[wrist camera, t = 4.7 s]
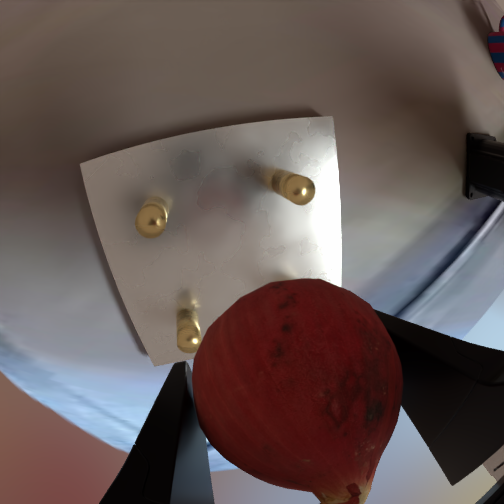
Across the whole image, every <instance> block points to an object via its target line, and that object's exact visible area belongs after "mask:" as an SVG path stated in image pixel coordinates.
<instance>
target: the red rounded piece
mask: <svg viewBox="0 0 504 504" xmlns="http://www.w3.org/2000/svg"><path fill="white" fill-rule="evenodd" d="M192 387H193V397H194V406H195V410H196V414H197V418H198V422H199V426H200V428H201V430H202V431H203V433H204V434H205V436H206V438H207V439H208V441H209V442H210V444H211V445H212V446H213V447H214V448H215V449H216V450H217V451H218V452H219V453H220V454H221V455H222V456H223V457H224V458H225V459H226V460H228V461H229V462H231V463H232V464H234V465H235V466H237V467H238V468H240V469H241V470H243V471H245V472H246V473H248V474H250V475H252V476H254V477H255V478H258V479H260V480H262V481H264V482H267V483H269V484H273V485H276V486H279V487H283V488H287V489H294V490H301V491H307V492H313V494H314V495H315V496H316V497H317V498H318V499H319V501H320V502H321V503H320V504H364V503H365V501H366V499H367V496H368V494H369V492H370V490H371V485H372V481H373V478H374V475H375V471H376V468H377V465H378V463H379V460H380V458H381V455H382V453H383V452H384V450H385V448H386V446H387V444H388V442H389V440H390V438H391V436H392V434H393V431H394V429H395V426H396V424H397V421H398V416H399V412H400V407H401V401H402V392H403V375H402V365H401V362H400V359H399V356H398V353H397V350H396V347H395V345H394V343H393V341H392V339H391V337H390V336H389V334H388V332H387V330H386V328H385V326H384V325H383V323H382V321H381V320H380V318H379V317H378V315H377V314H376V312H375V311H374V309H373V308H372V307H371V305H370V304H369V303H367V302H366V301H364V300H363V299H361V298H360V297H358V296H357V295H355V294H354V293H352V292H351V291H349V290H346V289H344V288H341V287H339V286H337V285H334V284H332V283H330V282H327V281H325V280H322V279H315V278H302V279H293V280H284V281H276V282H270V283H268V284H266V285H264V286H262V287H260V288H258V289H256V290H254V291H252V292H250V293H248V294H246V295H244V296H242V297H240V298H239V299H238V300H237V301H236V302H235V303H234V304H233V305H231V306H230V307H229V308H228V309H227V310H226V311H225V312H224V313H223V314H222V315H221V316H220V317H218V318H217V319H216V320H215V321H214V322H213V323H212V324H211V325H210V326H209V327H208V329H207V331H206V333H205V335H204V337H203V339H202V342H201V344H200V346H199V348H198V350H197V352H196V354H195V357H194V363H193V371H192Z"/></svg>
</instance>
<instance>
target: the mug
mask: <svg viewBox="0 0 504 504" xmlns="http://www.w3.org/2000/svg"><path fill="white" fill-rule="evenodd" d="M488 46H489V50H490V54H491V57H492V60H493V62H494V65H495V67H496V69H497V71H498V73H499V75H500V76H501V77H502V78H503V79H504V16H503V17H502V18H501V20H500V24H499V32H490V33H489V34H488Z"/></svg>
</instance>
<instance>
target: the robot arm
mask: <svg viewBox="0 0 504 504" xmlns="http://www.w3.org/2000/svg"><path fill="white" fill-rule="evenodd" d="M485 196H490V197H493V198H495V199H498V200H501V201H503V202H504V143H502V142H497V141H496V138H495V137H493V136H487V135H480V134H473V133H468V134H467V189H466V197H467V199H470V200H473V199H477V198H481V197H485ZM374 311H375V312H376V314H377V315H378V317H379V318H380V320H381V321H382V323H383V325H384V326H385V328H386V330H387V332H388V334H389V336H390V337H391V339H392V341H393V343H394V345H395V347H396V350H397V353H398V356H399V359H400V362H401V365H402V375H403V392H402V401H401V406H402V407H403V409H404V410H405V412H406V413H407V415H408V416H409V418H410V419H411V421H412V422H413V424H414V426H415V427H416V429H417V430H418V432H419V433H420V435H421V437H422V438H423V440H424V441H425V443H426V444H427V446H428V447H429V450H430V451H431V452H432V454H433V456H434V457H435V459H436V461H437V462H438V464H439V466H440V467H441V469H442V471H443V472H444V474H445V476H446V477H447V479H448V481H449V482H450V484H451V485H452V486H453V485H455V484H456V483H458V482H459V481H460V480H462V479H463V478H465V477H466V476H467V475H469V474H470V473H471V472H473V471H474V470H475V469H476V468H478V467H479V466H480V465H482V464H483V465H484V467H485V468H486V469H487V471H488V472H489V473H490V475H491V476H493V477H494V478H495V479H496V481H497V483H496V484H495V485H494V486H493V487H492V488H491V489H490V490H489V491H488V492H487V493H486V494H485V495H484V496H483V497H482V498H481V499H480V500H479V501H477V502H476V503H475V504H504V351H501V350H497V349H492V348H488V347H484V346H480V345H476V344H472V343H469V342H466V341H463V340H460V339H457V338H454V337H450V336H448V335H445V334H442V333H439V332H436V331H434V330H431V329H428V328H425V327H422V326H419V325H417V324H414V323H411V322H408V321H405V320H402V319H400V318H397V317H394V316H391V315H388V314H386V313H383V312H380V311H377V310H375V309H374ZM135 444H136V445H135ZM135 444H134V445H133V447H132V449H131V451H130V453H129V455H128V457H127V459H126V461H125V463H124V465H123V467H122V468H121V470H120V471H119V473H118V475H117V476H116V478H115V480H114V481H113V483H112V484H111V486H110V487H109V489H108V490H107V492H106V493H105V495H104V497H103V498H102V500H101V501H100V503H99V504H214V497H213V490H212V483H211V476H210V468H209V461H208V452H207V444H206V436H205V434H204V433H203V431H202V430H201V428H200V426H199V422H198V418H197V414H196V410H195V406H194V397H193V387H192V371H191V369H190V367H189V365H188V363H187V362H186V361H182V362H177V363H175V364H174V365H173V367H172V369H171V371H170V372H169V374H168V376H167V378H166V380H165V382H164V384H163V386H162V388H161V390H160V392H159V394H158V396H157V398H156V400H155V402H154V404H153V406H152V408H151V410H150V412H149V414H148V417H147V419H146V421H145V423H144V425H143V427H142V429H141V431H140V433H139V435H138V437H137V439H136V441H135Z"/></svg>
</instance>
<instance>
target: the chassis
mask: <svg viewBox="0 0 504 504" xmlns="http://www.w3.org/2000/svg"><path fill="white" fill-rule="evenodd" d="M80 167H81V172H82V176H83V181H84V185H85V189H86V193H87V197H88V200H89V204H90V208H91V211H92V215H93V218H94V221H95V225H96V228H97V231H98V234H99V238H100V241H101V244H102V247H103V250H104V252H105V255H106V258H107V261H108V264H109V266H110V269H111V272H112V274H113V277H114V280H115V282H116V285H117V287H118V290H119V292H120V295H121V297H122V299H123V302H124V304H125V306H126V309H127V311H128V313H129V316H130V318H131V320H132V322H133V324H134V327H135V329H136V331H137V333H138V335H139V337H140V339H141V341H142V343H143V345H144V347H145V349H146V351H147V353H148V355H149V357H150V359H151V361H152V363H153V365H154V366H159V365H164V364H169V363H174V362H179V361H184V360H189V359H194V357H195V354H196V352H197V350H198V348H199V346H200V344H201V342H202V339H203V337H204V335H205V333H206V331H207V329H208V327H209V326H210V325H211V324H212V323H213V322H214V321H215V320H216V319H217V318H218V317H220V316H221V315H222V314H223V313H224V312H225V311H226V310H227V309H228V308H229V307H230V306H231V305H233V304H234V303H235V302H236V301H237V300H238V299H239V298H240V297H242V296H244V295H246V294H248V293H250V292H252V291H254V290H256V289H258V288H260V287H262V286H264V285H266V284H268V283H270V282H276V281H284V280H293V279H302V278H315V279H322V280H325V281H327V282H330V283H332V284H334V285H337V286H339V287H341V214H340V192H339V176H338V163H337V151H336V141H335V131H334V122H333V116H327V117H307V118H292V119H281V120H271V121H262V122H253V123H246V124H239V125H232V126H226V127H219V128H214V129H208V130H203V131H197V132H192V133H188V134H183V135H178V136H174V137H169V138H165V139H161V140H157V141H153V142H149V143H145V144H141V145H138V146H134V147H131V148H127V149H124V150H120V151H117V152H114V153H110V154H107V155H104V156H101V157H98V158H95V159H92V160H89V161H86V162H84V163H81V164H80Z"/></svg>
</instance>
